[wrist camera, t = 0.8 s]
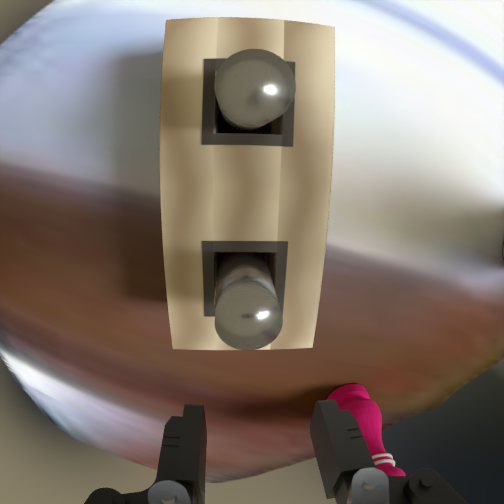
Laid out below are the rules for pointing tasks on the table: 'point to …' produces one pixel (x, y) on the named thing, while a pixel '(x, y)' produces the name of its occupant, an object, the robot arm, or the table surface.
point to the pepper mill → (366, 423)
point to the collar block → (244, 175)
